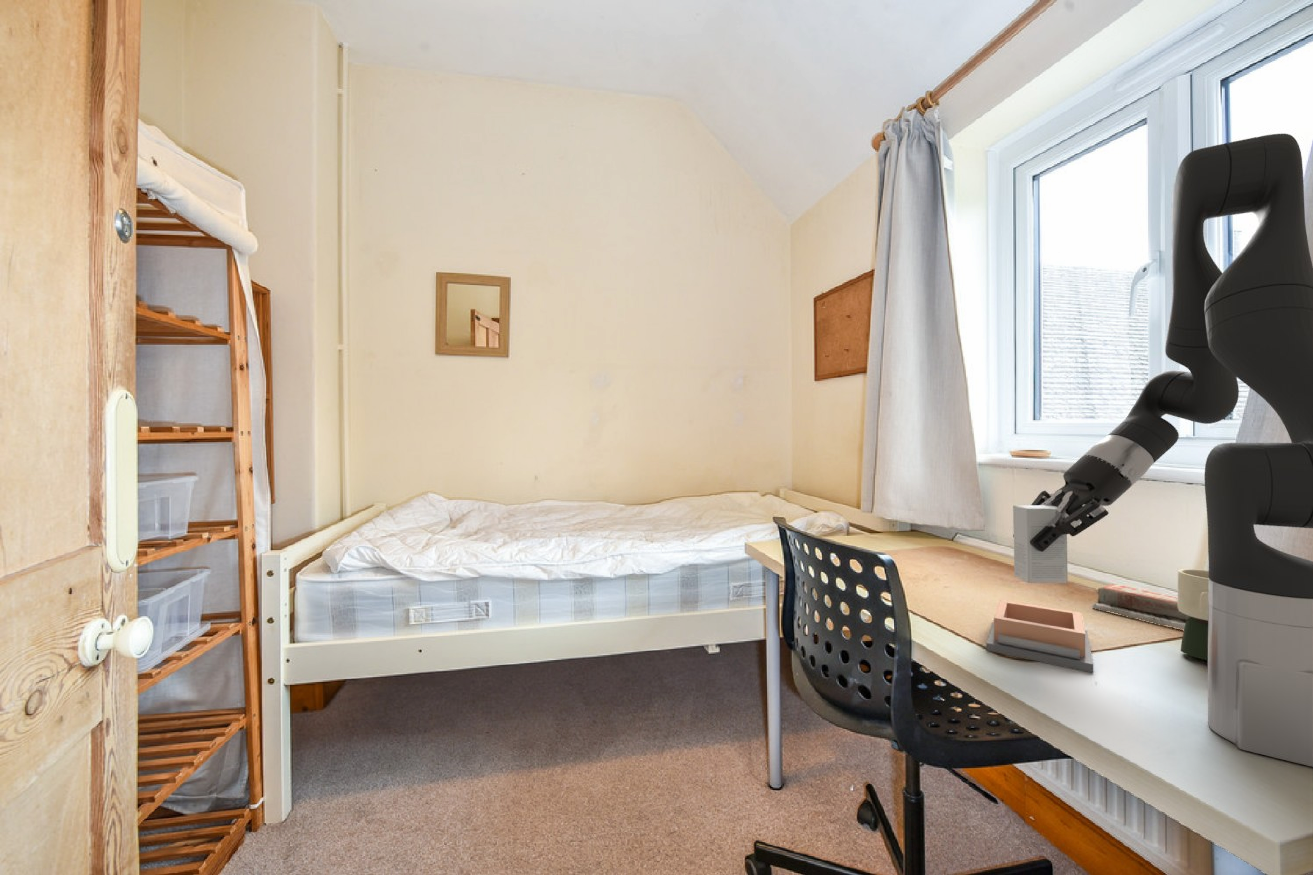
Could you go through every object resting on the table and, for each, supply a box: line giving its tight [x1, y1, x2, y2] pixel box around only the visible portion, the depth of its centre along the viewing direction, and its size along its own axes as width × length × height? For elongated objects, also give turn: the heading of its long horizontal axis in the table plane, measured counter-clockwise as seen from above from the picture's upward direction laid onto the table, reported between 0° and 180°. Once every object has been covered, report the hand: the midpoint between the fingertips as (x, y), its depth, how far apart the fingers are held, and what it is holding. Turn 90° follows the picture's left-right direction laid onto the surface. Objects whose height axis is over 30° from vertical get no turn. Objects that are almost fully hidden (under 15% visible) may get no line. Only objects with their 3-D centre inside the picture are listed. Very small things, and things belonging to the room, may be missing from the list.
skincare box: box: [1012, 504, 1069, 584], centre depth 86 cm, size 6×4×12 cm
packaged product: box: [1091, 583, 1191, 629], centre depth 98 cm, size 18×5×10 cm
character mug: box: [1177, 568, 1209, 664], centre depth 79 cm, size 11×7×13 cm, turn 127°
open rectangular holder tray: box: [986, 599, 1094, 674], centre depth 86 cm, size 16×13×5 cm
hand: (1026, 543), depth 86 cm, fingers closed on skincare box, 4 cm apart
